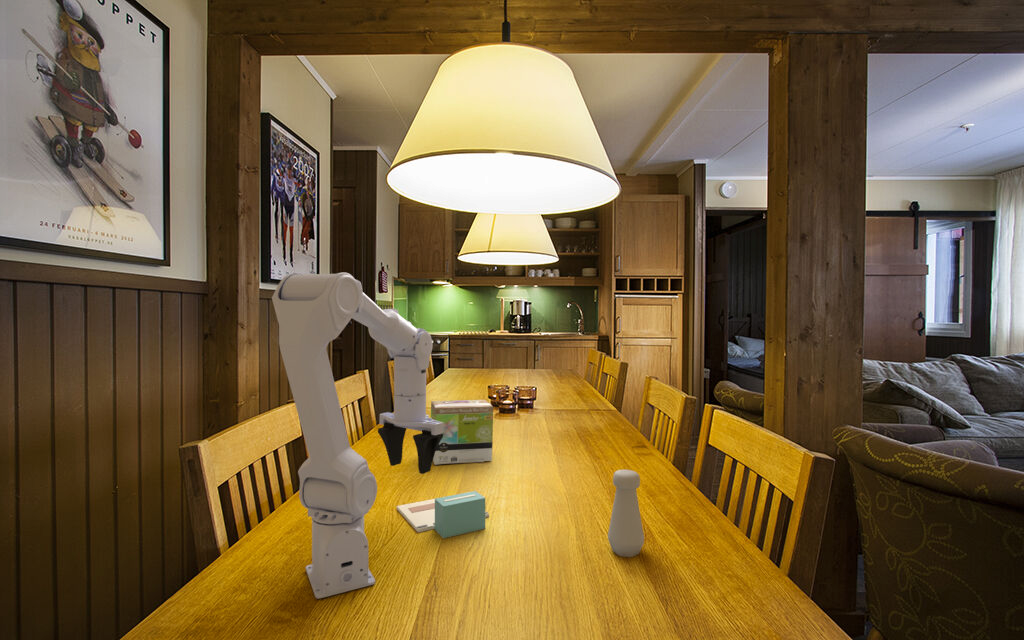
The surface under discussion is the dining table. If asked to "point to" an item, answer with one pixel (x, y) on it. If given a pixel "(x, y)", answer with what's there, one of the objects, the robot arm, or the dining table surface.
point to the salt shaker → (626, 515)
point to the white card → (421, 514)
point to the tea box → (464, 431)
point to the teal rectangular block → (459, 514)
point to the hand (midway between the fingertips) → (409, 468)
